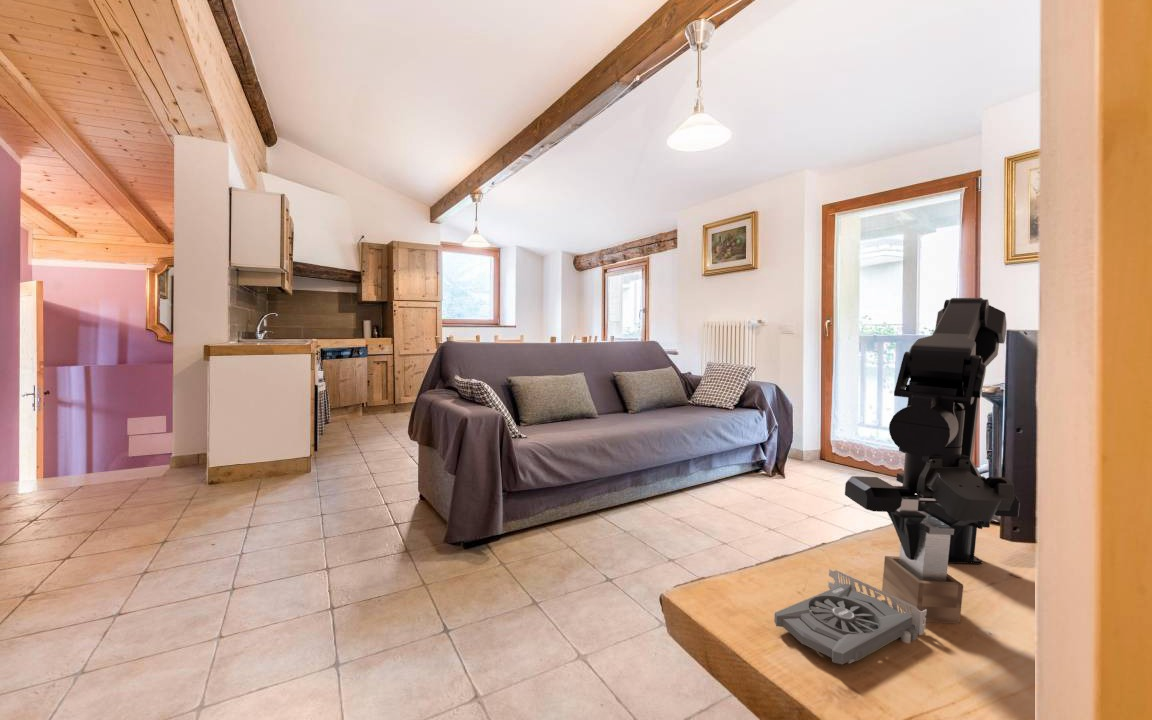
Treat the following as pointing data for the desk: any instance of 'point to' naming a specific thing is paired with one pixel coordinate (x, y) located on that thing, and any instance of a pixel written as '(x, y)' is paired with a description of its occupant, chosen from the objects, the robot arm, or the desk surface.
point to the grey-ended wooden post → (929, 550)
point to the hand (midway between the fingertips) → (922, 559)
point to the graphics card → (850, 620)
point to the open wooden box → (923, 592)
